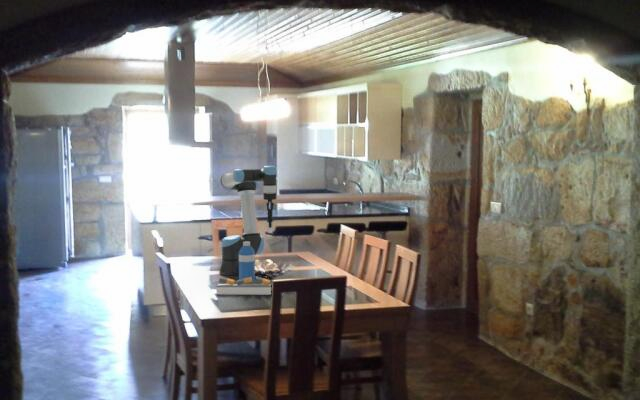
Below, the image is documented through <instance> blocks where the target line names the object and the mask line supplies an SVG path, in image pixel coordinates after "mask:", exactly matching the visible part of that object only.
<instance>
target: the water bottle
mask: <svg viewBox="0 0 640 400" xmlns="http://www.w3.org/2000/svg"><path fill="white" fill-rule="evenodd" d="M255 257H256V255H255V251H254V250H253V248H252V247H251V246H250V242H248V241H245V242H243V246H242V248H241V249H240V251H239V275H238V280H240V279H244V278H247V277H252V281H255V279H256V275H255V274H256V272H255V271H256V270H255V269H256V268H255V267H256V265H255V263H256V262H255V259H256V258H255Z"/></svg>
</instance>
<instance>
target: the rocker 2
mask: <svg viewBox="0 0 640 400" xmlns="http://www.w3.org/2000/svg"><path fill="white" fill-rule="evenodd" d="M236 281H237V285H241V284H245V283H249V282H252V277H247V278H244V279H240V280H239V279H237V280H236Z"/></svg>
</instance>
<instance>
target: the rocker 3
mask: <svg viewBox="0 0 640 400" xmlns="http://www.w3.org/2000/svg"><path fill="white" fill-rule="evenodd" d="M255 282H258V283H262V284H265V285H269V284H270V282H271V279H268V278H263V277H260V276H255Z"/></svg>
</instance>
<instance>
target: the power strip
mask: <svg viewBox="0 0 640 400" xmlns="http://www.w3.org/2000/svg"><path fill="white" fill-rule="evenodd" d="M271 284H272V285H273V281H270V284H269V285H265V284H262V283H258V282H255V281H252V282H249V283H245V284H241V285H237V280H235V281H234V284H233V285H230V284H226V283H222V282H219V281H218V284H217V285H216V295H252V296H253V295H256V296H257V295H260V296H261V295H262V296H264V295H272V293H271Z"/></svg>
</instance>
